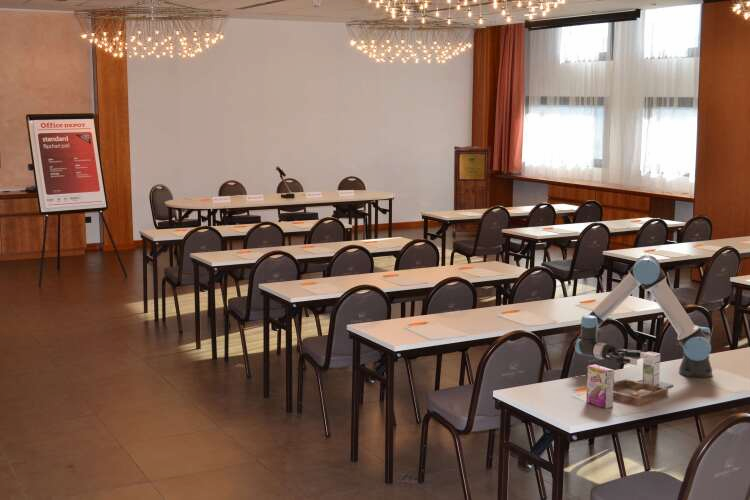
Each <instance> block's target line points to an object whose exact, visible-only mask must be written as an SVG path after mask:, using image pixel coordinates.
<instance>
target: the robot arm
mask: <svg viewBox="0 0 750 500" xmlns="http://www.w3.org/2000/svg"><path fill="white" fill-rule="evenodd" d="M640 286H641V287H642V288H643V289H644V291H647V292H650V294H651V296H652V297H653V298H654V301H655V302H656V304H657V305H658V306H659V307H660V310H661V311H662V313H664V316H665V317H666V318H667V320H668V321H669V323H670V324H671V326H672V327H673V329H674V330H675V332H676V333H677V338H676V339H677V341H678V342H679V344H680V346H681V347H682V349H683V357H682V360H681V361H680V365H679V368H678V372H679V374H680V375H683V376H686V377H691V378H707V377H706V376H710V375H712V376H713V369H712V368H713V367H712V365H711V361H710V354H711V351H712V345H711V334H712V333H711V329H710V328H709V327H705V326H699V325H696V324H694V322H693V321H692V319H691V318H690V316H689V315H688V313H687V312H686V309H684V306H682V304H681V302H680V301H679V300H678V298H677V297H676V295H675V294H674V292H673V291H672V289H671V288H670V286H669V284H668V283H667V275H666V274H665V273H664V271H663V269H662V268H661V264H660V262H659V260H658V259H657V258H656V257H654V256H652V255H649V254H646V255H641V256H640V257H638V259H636V260H635V263H634V265H632V267H631V268H630V269H629V270H628V274H627V275H626V276H625V277H624V278H623V279H622V280H621V281H620V282H619V283H618V284H617V285H616V286H615V287H614V288H613V289H612V290H611V291H610V292H609V293H608V294H607V296H606V297H605V298H603V300H601V302H600V303H598V305H597V306H596V307H594V308H593V310H592V311H591V312H590V313H589V314H588V315H583V316H581V321H580V326H581V327H580V338H579V339H577V340H576V341H575V345H574V349H575V352H576V353H577V354H579V355H582V356H587V357H591V358H596V359H598V360H605V361H610V362H612V361H613V362H615V363H617V364H620V365H624V363H625V364H628V365H629V364H630V365H634V366H638V358H640V359H643V355H644V353H645V352H644V351H643V350H641V349H639V350H635V349H625V348H621V349H620V348H619V349H617V348H616V346H615V345H613V344H609V343H605V342H598V341H597V339H598V336H597V335H598V329H599V328H600V326H601V325H602V324H603V323H604V322H605V321H606V320H607V319H608V318H609V317H610V316H611V315H612V314H613V313H614V312H615V311H616V309H618V308H619V307H620V306H621V305H623V303H624V302H625V301H626V300H627V299H628V298H629V297H630V296H631V295H632V294H634V292H635V291H636V290H637V289H638V288H639V287H640ZM710 377H711V376H710Z"/></svg>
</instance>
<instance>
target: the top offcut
mask: <svg viewBox="0 0 750 500" xmlns="http://www.w3.org/2000/svg"><path fill="white" fill-rule="evenodd" d="M652 392H653V391H648V390H643V389H641V390H637V391H635V392H632V393H631V396H635V397H640V396H643V395H646V394H649V393H652Z"/></svg>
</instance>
